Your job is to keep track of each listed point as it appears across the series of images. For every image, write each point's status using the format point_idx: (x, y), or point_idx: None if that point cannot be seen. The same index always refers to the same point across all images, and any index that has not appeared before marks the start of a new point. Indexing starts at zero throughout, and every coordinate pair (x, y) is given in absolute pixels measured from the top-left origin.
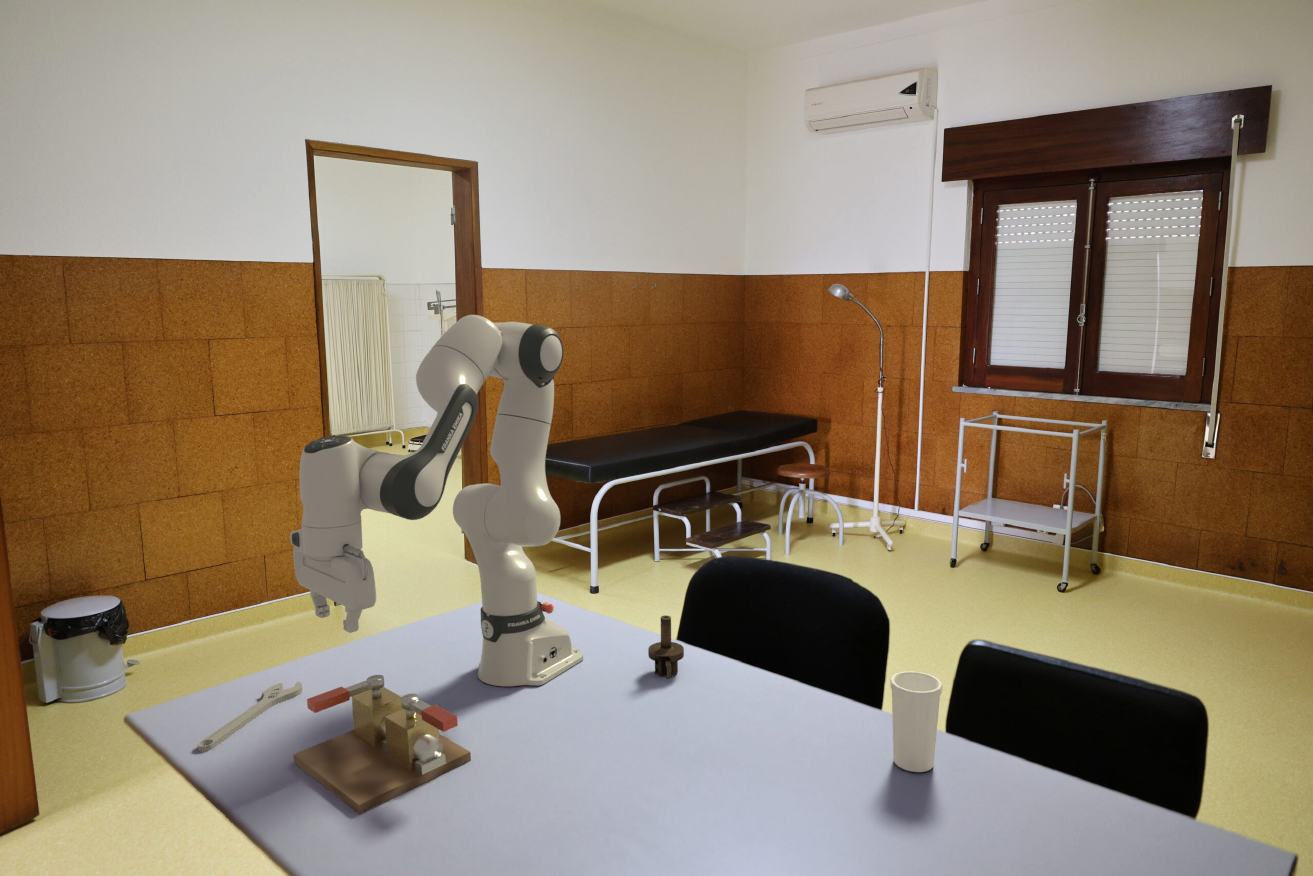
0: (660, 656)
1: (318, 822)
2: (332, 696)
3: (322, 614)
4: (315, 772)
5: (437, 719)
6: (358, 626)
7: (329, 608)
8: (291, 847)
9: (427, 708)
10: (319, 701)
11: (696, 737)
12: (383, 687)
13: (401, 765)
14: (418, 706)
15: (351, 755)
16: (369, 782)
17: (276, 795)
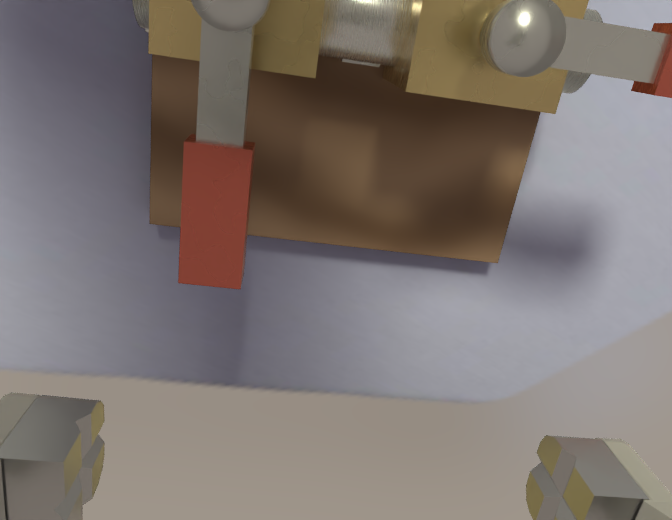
0: None
1: (433, 316)
2: (241, 218)
3: (91, 472)
4: (281, 237)
5: None
6: (638, 455)
7: (73, 441)
8: (453, 381)
9: (669, 69)
10: (236, 267)
11: None
12: None
13: None
14: (607, 66)
15: (290, 137)
16: (445, 193)
17: (263, 313)
